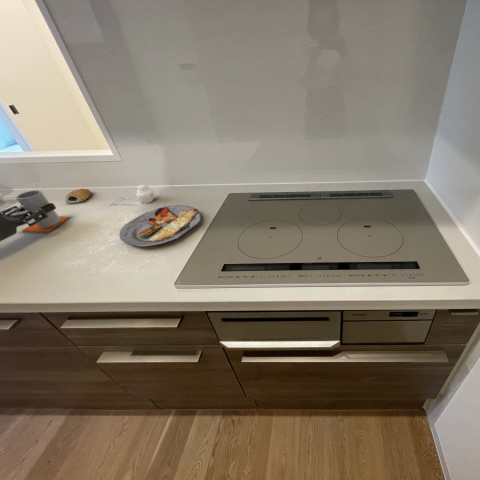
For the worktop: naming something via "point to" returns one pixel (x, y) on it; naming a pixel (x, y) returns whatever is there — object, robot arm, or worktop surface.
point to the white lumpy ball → (145, 193)
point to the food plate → (160, 225)
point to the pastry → (78, 195)
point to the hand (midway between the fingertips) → (45, 204)
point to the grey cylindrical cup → (35, 201)
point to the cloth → (37, 229)
